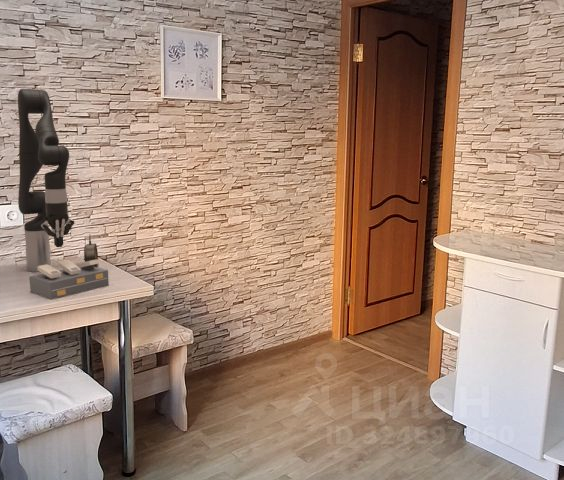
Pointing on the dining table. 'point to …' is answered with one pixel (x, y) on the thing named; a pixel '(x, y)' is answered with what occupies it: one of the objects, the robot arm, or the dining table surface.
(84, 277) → the switch unit
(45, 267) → the rocker
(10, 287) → the dining table surface
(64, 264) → the rocker
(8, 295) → the dining table surface
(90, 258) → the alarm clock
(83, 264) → the rocker
